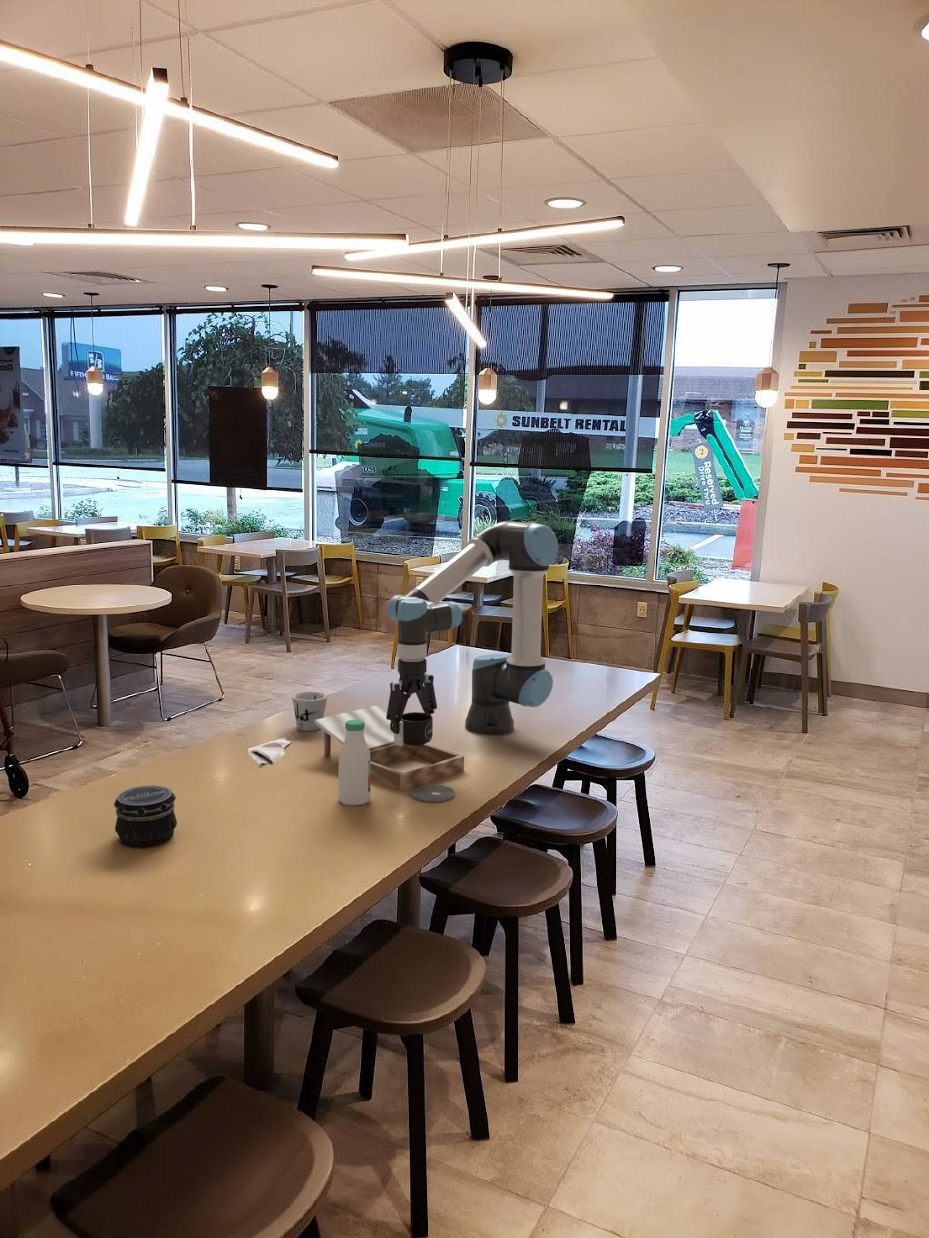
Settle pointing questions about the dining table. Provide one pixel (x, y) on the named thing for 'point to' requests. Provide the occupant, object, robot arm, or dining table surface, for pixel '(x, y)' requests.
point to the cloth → (268, 751)
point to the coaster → (432, 793)
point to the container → (145, 816)
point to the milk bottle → (354, 766)
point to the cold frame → (390, 749)
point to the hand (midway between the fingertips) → (412, 740)
